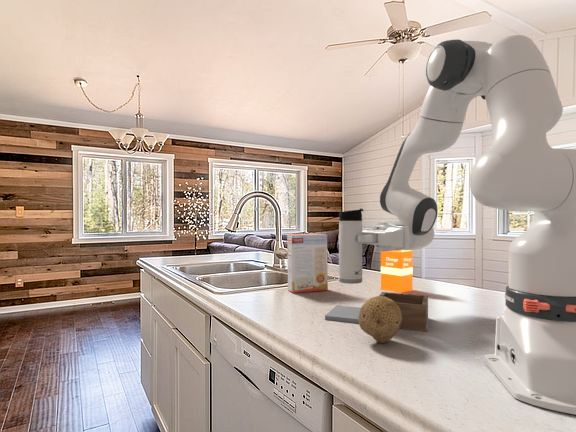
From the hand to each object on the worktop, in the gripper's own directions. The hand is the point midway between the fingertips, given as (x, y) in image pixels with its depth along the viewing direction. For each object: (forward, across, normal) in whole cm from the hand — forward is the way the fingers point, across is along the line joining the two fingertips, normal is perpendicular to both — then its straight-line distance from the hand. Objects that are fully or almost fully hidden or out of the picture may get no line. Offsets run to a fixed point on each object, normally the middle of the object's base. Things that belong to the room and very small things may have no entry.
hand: (348, 237), depth 97 cm
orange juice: (-38, -21, +22) cm, 48 cm away
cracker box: (-8, -34, +22) cm, 41 cm away
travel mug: (-1, 0, +12) cm, 12 cm away
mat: (-1, 0, +21) cm, 21 cm away
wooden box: (-9, +10, +21) cm, 26 cm away
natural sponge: (+7, +20, +22) cm, 30 cm away
